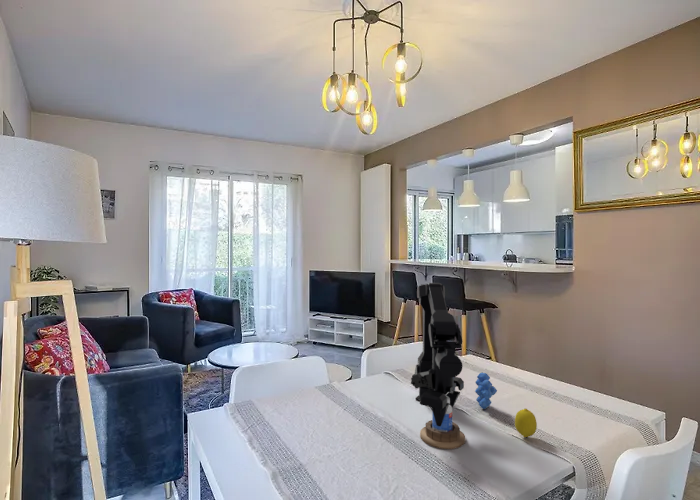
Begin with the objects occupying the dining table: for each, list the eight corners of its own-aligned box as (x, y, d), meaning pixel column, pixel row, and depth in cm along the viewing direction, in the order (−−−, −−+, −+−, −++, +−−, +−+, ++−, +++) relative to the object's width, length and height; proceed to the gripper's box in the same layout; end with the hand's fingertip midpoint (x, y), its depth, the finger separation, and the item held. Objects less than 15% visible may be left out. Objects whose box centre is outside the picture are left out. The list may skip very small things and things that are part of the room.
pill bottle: (453, 438, 107) (453, 402, 106) (432, 436, 108) (432, 401, 107) (451, 428, 112) (451, 394, 112) (432, 427, 113) (432, 393, 113)
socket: (429, 424, 118) (430, 413, 118) (470, 435, 112) (470, 423, 112) (413, 441, 108) (413, 429, 108) (457, 453, 101) (457, 441, 101)
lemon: (535, 434, 112) (535, 406, 112) (537, 444, 107) (537, 414, 107) (514, 431, 114) (514, 403, 114) (515, 440, 109) (515, 411, 109)
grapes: (502, 416, 124) (503, 378, 124) (480, 416, 124) (481, 377, 124) (491, 402, 135) (492, 366, 135) (471, 401, 136) (471, 366, 136)
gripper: (428, 352, 122) (427, 403, 122) (401, 369, 106) (401, 427, 106) (464, 358, 116) (464, 412, 116) (442, 376, 100) (441, 438, 100)
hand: (442, 421), depth 110 cm, fingers closed on pill bottle, 5 cm apart
